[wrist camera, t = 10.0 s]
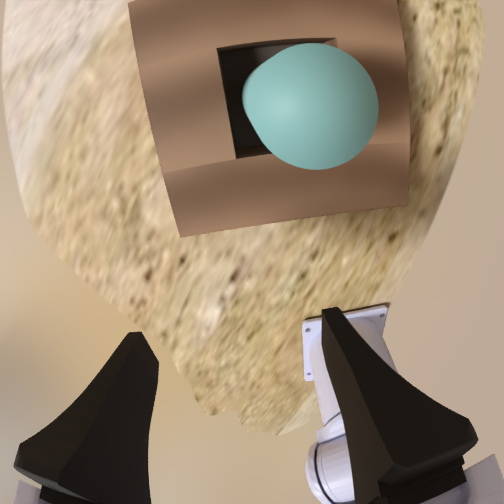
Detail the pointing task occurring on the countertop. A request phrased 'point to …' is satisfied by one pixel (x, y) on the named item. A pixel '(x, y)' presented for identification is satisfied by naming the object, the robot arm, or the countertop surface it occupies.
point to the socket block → (238, 124)
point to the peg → (312, 105)
